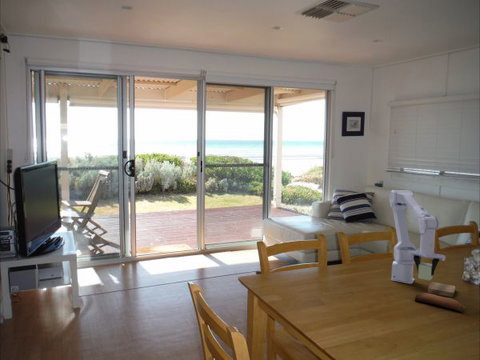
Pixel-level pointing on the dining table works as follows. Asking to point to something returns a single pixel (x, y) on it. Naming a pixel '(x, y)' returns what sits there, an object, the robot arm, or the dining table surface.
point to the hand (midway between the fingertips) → (425, 273)
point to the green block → (425, 271)
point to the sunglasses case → (439, 301)
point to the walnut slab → (441, 289)
